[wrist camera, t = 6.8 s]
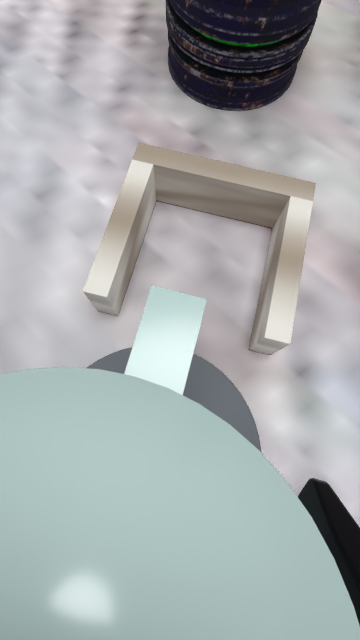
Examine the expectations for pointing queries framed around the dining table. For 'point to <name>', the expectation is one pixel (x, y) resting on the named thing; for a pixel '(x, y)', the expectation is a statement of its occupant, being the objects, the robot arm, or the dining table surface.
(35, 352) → the dining table surface
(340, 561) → the robot arm
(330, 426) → the dining table surface
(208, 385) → the grey flat disc
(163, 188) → the frame
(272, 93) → the storage jar
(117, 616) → the pale green rounded piece
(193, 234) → the dining table surface
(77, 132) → the dining table surface
